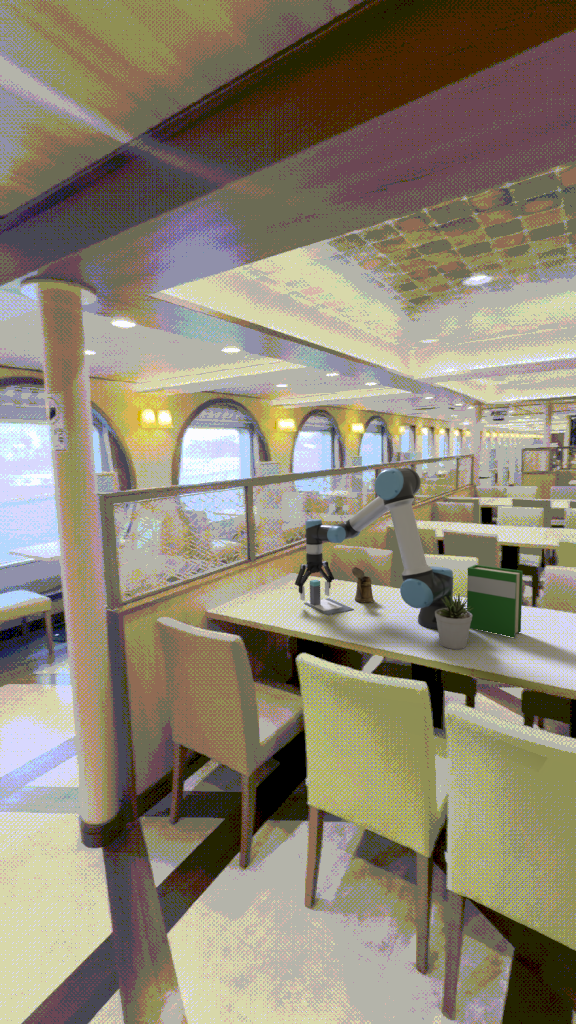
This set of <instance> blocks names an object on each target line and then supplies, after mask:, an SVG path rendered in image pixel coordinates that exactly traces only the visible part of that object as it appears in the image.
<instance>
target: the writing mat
mask: <svg viewBox="0 0 576 1024" xmlns="http://www.w3.org/2000/svg"><path fill="white" fill-rule="evenodd" d="M320 603H321V604H320V605H312V604H310V601H306V602H304V603H303V604H304V605H306V606H308V607H310V608H312V609H314V608H315V609H314V610H316V611H318V610H319V611H318V612H319V613H322V614H324V613H325V615H326V614H327V615H326V616H331V615H330V614H332V615H335V613H337V614H339V613H340V612H341V613H344V611H346V612H349V610H351V611H355V610H354V608H352V607H350V606H347V605H345V604H343V603H342V602H341V603H340V602H338V601H336V600H334V599H332V598H329V597H328V598H322V599H321V598H320ZM341 613H340V614H341Z"/></svg>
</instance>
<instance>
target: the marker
mask: <svg viewBox="0 0 576 1024" xmlns="http://www.w3.org/2000/svg"><path fill="white" fill-rule="evenodd" d="M320 600H321V581H320V580H318V579H312V580H309V602H310V604H312V605H320V604H321V603H320Z"/></svg>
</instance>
